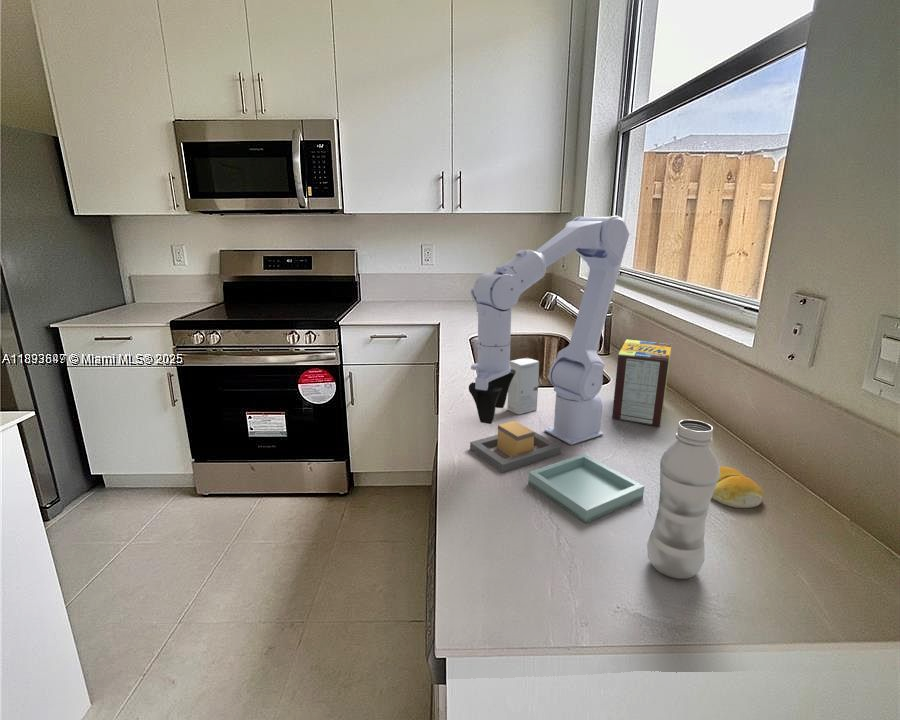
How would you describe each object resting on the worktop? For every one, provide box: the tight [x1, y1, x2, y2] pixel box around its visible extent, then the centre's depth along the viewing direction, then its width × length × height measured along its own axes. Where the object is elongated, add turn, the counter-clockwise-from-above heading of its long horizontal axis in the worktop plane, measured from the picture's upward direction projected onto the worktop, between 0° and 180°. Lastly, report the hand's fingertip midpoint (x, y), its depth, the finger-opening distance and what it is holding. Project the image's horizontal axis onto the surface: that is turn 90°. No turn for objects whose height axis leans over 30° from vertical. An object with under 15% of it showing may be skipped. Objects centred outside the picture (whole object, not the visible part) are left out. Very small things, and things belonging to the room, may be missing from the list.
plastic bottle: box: [646, 419, 721, 580], centre depth 58 cm, size 6×7×20 cm
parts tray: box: [528, 453, 645, 524], centre depth 78 cm, size 13×13×2 cm
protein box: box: [611, 339, 672, 428], centre depth 109 cm, size 10×15×16 cm
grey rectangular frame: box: [469, 431, 562, 473], centre depth 92 cm, size 14×10×2 cm
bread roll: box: [711, 466, 764, 509], centre depth 77 cm, size 8×9×4 cm
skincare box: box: [506, 357, 540, 415], centre depth 111 cm, size 6×4×12 cm
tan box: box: [496, 420, 536, 457], centre depth 91 cm, size 4×6×5 cm
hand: (492, 414), depth 87 cm, fingers open, 7 cm apart
